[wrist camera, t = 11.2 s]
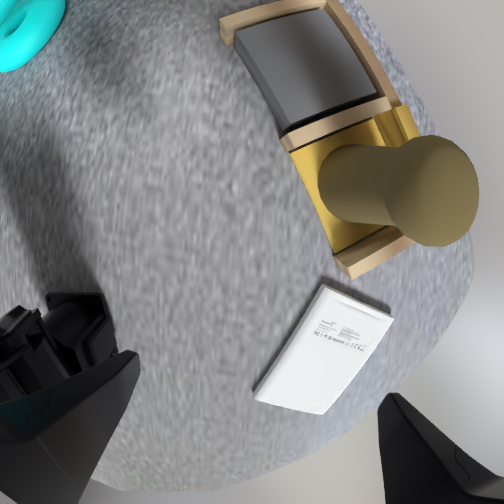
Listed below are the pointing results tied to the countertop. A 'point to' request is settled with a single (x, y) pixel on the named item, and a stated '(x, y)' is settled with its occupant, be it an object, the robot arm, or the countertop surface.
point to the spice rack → (323, 103)
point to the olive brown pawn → (403, 188)
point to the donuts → (26, 29)
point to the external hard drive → (323, 352)
